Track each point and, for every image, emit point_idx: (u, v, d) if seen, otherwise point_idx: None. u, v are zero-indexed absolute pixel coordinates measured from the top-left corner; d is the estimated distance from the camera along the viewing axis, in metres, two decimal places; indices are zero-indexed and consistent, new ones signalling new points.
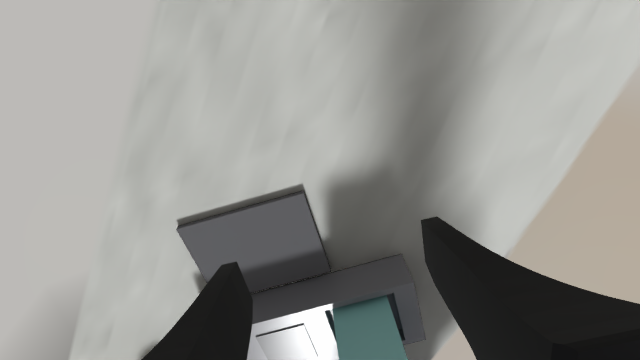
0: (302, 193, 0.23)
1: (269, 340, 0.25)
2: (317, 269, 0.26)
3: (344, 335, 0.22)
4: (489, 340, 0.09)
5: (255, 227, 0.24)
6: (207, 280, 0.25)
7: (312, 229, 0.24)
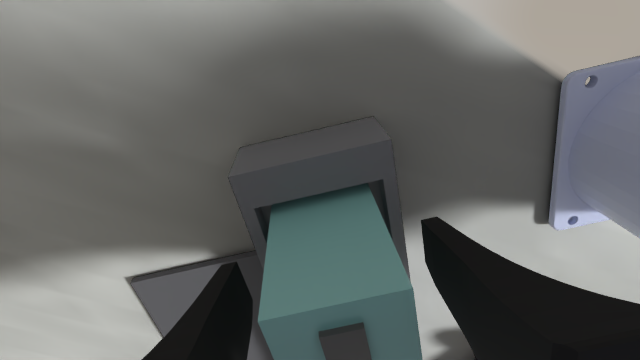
0: (132, 282, 0.17)
1: None
2: (259, 268, 0.17)
3: None
4: (489, 340, 0.09)
5: None
6: None
7: (188, 274, 0.17)
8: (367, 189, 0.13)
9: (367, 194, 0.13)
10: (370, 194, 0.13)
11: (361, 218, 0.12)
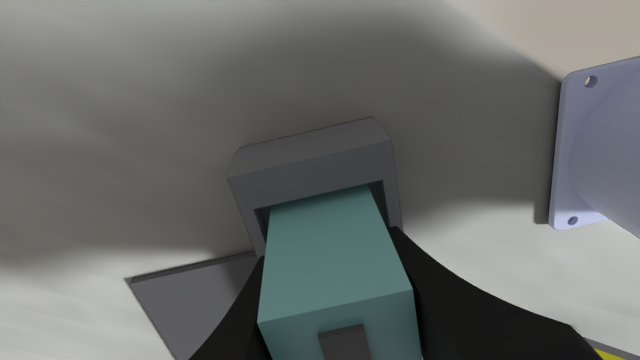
0: (131, 283, 0.17)
1: None
2: None
3: None
4: (431, 352, 0.09)
5: (188, 330, 0.19)
6: None
7: (187, 275, 0.17)
8: (366, 190, 0.13)
9: (367, 195, 0.13)
10: (370, 195, 0.13)
11: (361, 219, 0.12)
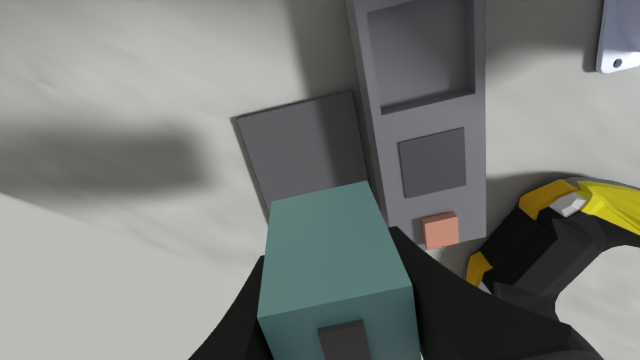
0: (237, 120, 0.20)
1: (415, 184, 0.20)
2: (346, 107, 0.20)
3: None
4: (431, 352, 0.09)
5: (279, 171, 0.22)
6: None
7: (286, 112, 0.20)
8: (366, 188, 0.13)
9: (367, 193, 0.13)
10: (370, 192, 0.13)
11: (361, 217, 0.12)
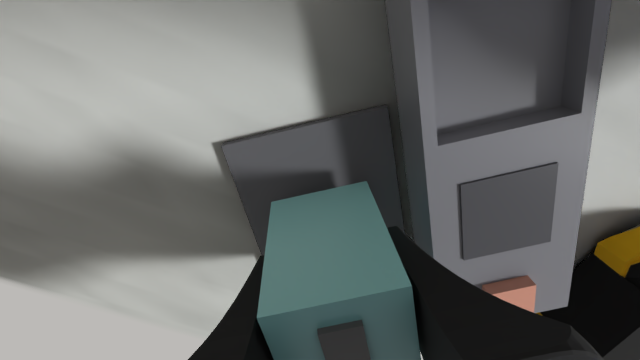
0: (222, 147, 0.14)
1: (478, 241, 0.14)
2: (378, 129, 0.14)
3: None
4: (431, 352, 0.09)
5: None
6: None
7: (292, 135, 0.14)
8: (366, 188, 0.13)
9: (366, 193, 0.13)
10: (369, 193, 0.13)
11: (360, 217, 0.12)
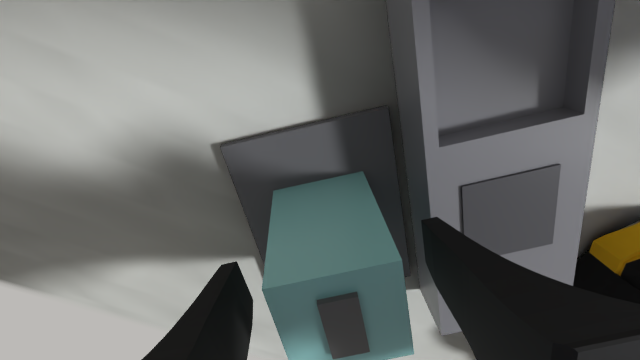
0: (221, 148, 0.14)
1: (480, 243, 0.14)
2: (378, 130, 0.14)
3: None
4: (489, 340, 0.09)
5: None
6: None
7: (292, 137, 0.14)
8: (362, 178, 0.14)
9: (363, 182, 0.14)
10: (365, 181, 0.14)
11: (357, 203, 0.13)
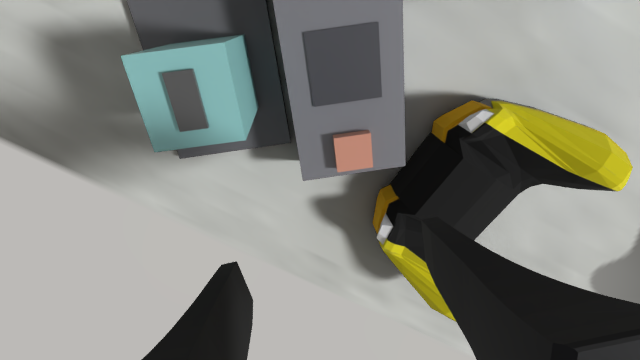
0: None
1: (324, 89, 0.17)
2: None
3: None
4: (489, 340, 0.09)
5: None
6: (255, 145, 0.21)
7: None
8: (240, 35, 0.18)
9: (238, 35, 0.18)
10: (240, 35, 0.18)
11: (223, 38, 0.16)
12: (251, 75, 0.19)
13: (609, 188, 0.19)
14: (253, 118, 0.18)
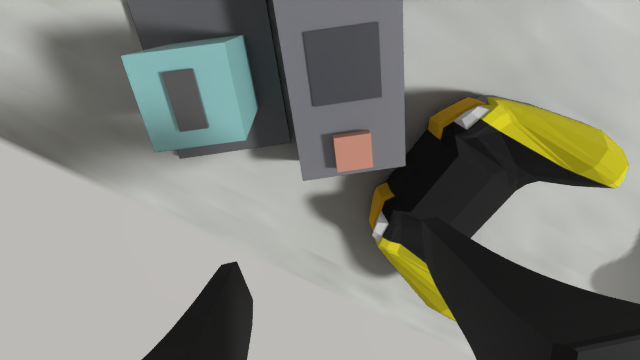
0: None
1: (324, 89, 0.17)
2: None
3: None
4: (489, 340, 0.09)
5: None
6: (255, 145, 0.21)
7: None
8: (240, 35, 0.18)
9: (238, 35, 0.18)
10: (240, 35, 0.18)
11: (223, 38, 0.16)
12: (251, 75, 0.19)
13: (605, 185, 0.19)
14: (253, 118, 0.18)
